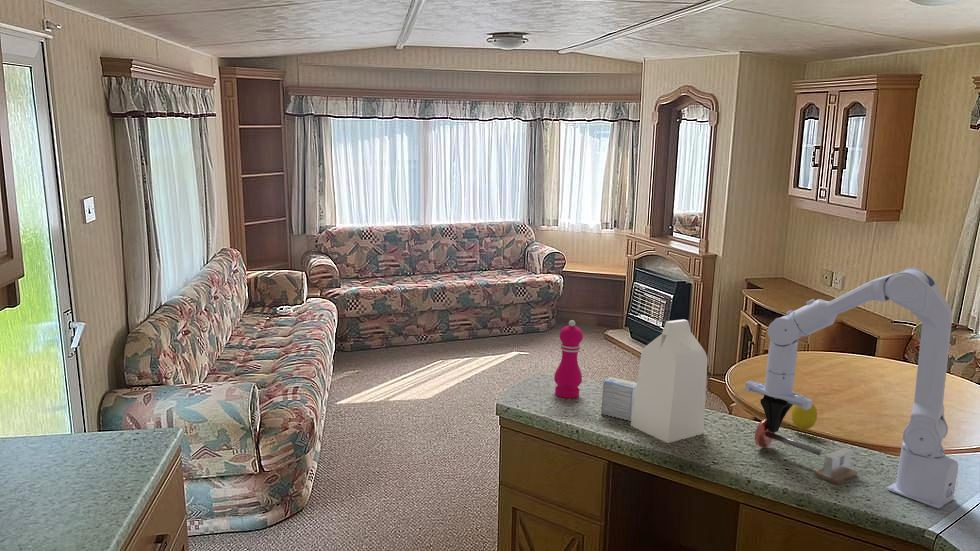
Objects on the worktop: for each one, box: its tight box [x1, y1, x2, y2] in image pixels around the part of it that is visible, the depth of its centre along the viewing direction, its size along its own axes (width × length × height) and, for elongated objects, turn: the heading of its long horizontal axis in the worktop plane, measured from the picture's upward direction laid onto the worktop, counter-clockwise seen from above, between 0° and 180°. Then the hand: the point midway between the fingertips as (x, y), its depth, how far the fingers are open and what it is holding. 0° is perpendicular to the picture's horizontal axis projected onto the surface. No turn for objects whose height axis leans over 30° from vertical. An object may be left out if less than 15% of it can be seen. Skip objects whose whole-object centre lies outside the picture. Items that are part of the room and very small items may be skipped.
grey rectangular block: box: [600, 376, 637, 422], centre depth 176 cm, size 8×4×9 cm, turn 58°
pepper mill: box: [553, 319, 584, 399], centre depth 189 cm, size 7×7×20 cm
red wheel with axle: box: [754, 417, 822, 456], centre depth 157 cm, size 14×6×6 cm, turn 38°
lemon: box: [791, 402, 818, 432], centre depth 172 cm, size 6×6×8 cm
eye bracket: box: [813, 446, 859, 486], centre depth 148 cm, size 5×8×5 cm, turn 128°
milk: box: [630, 319, 708, 444], centre depth 167 cm, size 12×12×26 cm
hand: (773, 430), depth 159 cm, fingers closed
